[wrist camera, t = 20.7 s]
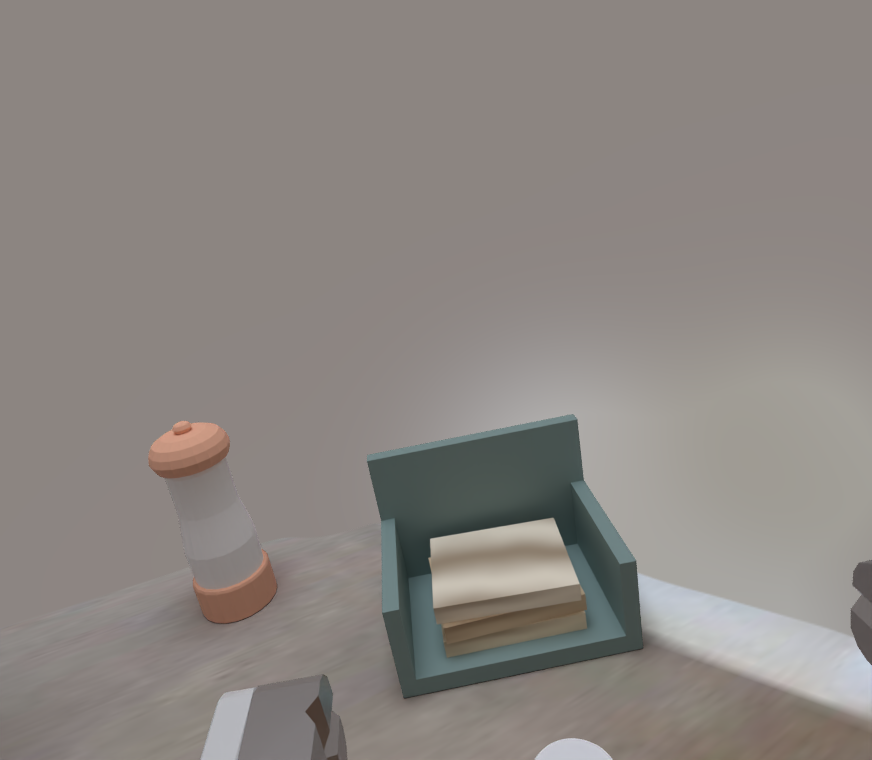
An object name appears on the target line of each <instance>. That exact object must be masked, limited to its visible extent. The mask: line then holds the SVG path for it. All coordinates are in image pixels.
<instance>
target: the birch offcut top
mask: <svg viewBox="0 0 872 760" xmlns="http://www.w3.org/2000/svg"><path fill="white" fill-rule="evenodd" d="M430 548H431V569H432V590H433V609H434V614H435V618H436V623H437V624H443V623H449V622H455V621H461V620H467V619H473V618H479V617H485V616H490V615H496V614H502V613H508V612H514V611H520V610H526V609H532V608H538V607H544V606H550V605H556V604H562V603H568V602H574V601H580V600H581V591H580V583H579V581H578V578H577V576H576V573H575V571H574V568H573V566H572V563H571V561H570V558H569V556H568V553H567V550H566V548H565V545H564V543H563V540H562V538H561V535H560V533H559V530H558V528H557V525H556V522H555V520H554V518H548V519H542V520H536V521H531V522H525V523H519V524H513V525H507V526H501V527H496V528H490V529H484V530H478V531H472V532H467V533H461V534H455V535H449V536H443V537H437V538H432V539H430Z"/></svg>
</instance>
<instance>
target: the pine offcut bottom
mask: <svg viewBox="0 0 872 760" xmlns="http://www.w3.org/2000/svg"><path fill="white" fill-rule="evenodd" d="M441 627H442V634H443V642H444V647H445V651H446V656H447V658H448V657H453V656H457V655H462V654H467V653H472V652H477V651H481V650H486V649H491V648H496V647H501V646H505V645H510V644H515V643H520V642H525V641H530V640H534V639H539V638H544V637H549V636H554V635H558V634H563V633H568V632H573V631H578V630H583V629H587V623H586V614H585V611H580V612H576V613H572V614H568V615H564V616H560V617H556V618H552V619H548V620H544V621H540V622H536V623H532V624H527V625H523V626H519V627H515V628H511V629H507V630H503V631H499V632H495V633H491V634H487V635H483V636H479V637H475V638H471V639H467V640H463V641H459V642H455V643H451V644H447V642H446V637H445V632H444V628H443V624H441Z"/></svg>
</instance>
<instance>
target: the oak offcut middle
mask: <svg viewBox="0 0 872 760" xmlns="http://www.w3.org/2000/svg"><path fill="white" fill-rule="evenodd" d="M428 559H429V563H430V568H431V557H430V558H428ZM431 573H432V569H431ZM580 591H581V600H580V601H574V602H568V603H562V604H556V605H550V606H544V607H538V608H532V609H526V610H520V611H514V612H508V613H502V614H496V615H490V616H485V617H479V618H473V619H467V620H461V621H455V622H449V623H443V628H444V632H445V637H446V642H447V644H451V643H455V642H459V641H463V640H467V639H471V638H475V637H479V636H483V635H487V634H491V633H495V632H499V631H503V630H507V629H511V628H515V627H519V626H523V625H527V624H532V623H536V622H540V621H544V620H548V619H552V618H556V617H560V616H564V615H568V614H572V613H576V612H580V611H584V610H587V605H586V596H585V593H584V591H583V589H582V587H581V586H580Z"/></svg>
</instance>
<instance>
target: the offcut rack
mask: <svg viewBox="0 0 872 760" xmlns="http://www.w3.org/2000/svg"><path fill="white" fill-rule="evenodd" d="M367 463H368V467H369V471H370V475H371V480H372V484H373V488H374V492H375V496H376V500H377V505H378V509H379V513H380V517H381V535H382V614H383V618H384V622H385V626H386V630H387V634H388V638H389V642H390V645H391V649H392V653H393V657H394V661H395V665H396V669H397V673H398V677H399V681H400V685H401V689H402V693H403V697H404V698H407V697H412V696H417V695H422V694H426V693H431V692H436V691H441V690H446V689H450V688H455V687H460V686H465V685H470V684H474V683H479V682H484V681H489V680H493V679H498V678H503V677H508V676H513V675H517V674H522V673H527V672H532V671H537V670H541V669H546V668H551V667H556V666H561V665H565V664H570V663H575V662H580V661H584V660H589V659H594V658H599V657H604V656H608V655H613V654H618V653H623V652H628V651H632V650H637V649H642V648H643V642H642V629H641V616H640V603H639V590H638V578H637V565H636V560H635V558H634V557H633V555H632V554H631V552H630V551H629V549H628V547H627V546H626V544H625V543H624V541H623V540H622V538H621V537H620V535H619V534H618V532H617V530H616V529H615V527H614V526H613V524H612V523H611V521H610V520H609V518H608V517H607V515H606V514H605V512H604V511H603V509H602V507H601V506H600V504H599V503H598V501H597V500H596V498H595V497H594V495H593V494H592V492H591V491H590V489H589V487H588V486H587V485H586V483H585V481H584V478H583V470H582V460H581V451H580V441H579V431H578V422H577V418H576V417H575V416H574V415H573V414H572V415H566V416H561V417H557V418H552V419H546V420H541V421H536V422H531V423H527V424H522V425H517V426H511V427H507V428H502V429H496V430H491V431H486V432H481V433H476V434H471V435H466V436H461V437H456V438H451V439H446V440H441V441H436V442H431V443H426V444H421V445H415V446H410V447H406V448H401V449H396V450H390V451H386V452H380V453H375V454H370V455H368V456H367ZM548 518H554V520H555V522H556V525H557V528H558V530H559V533H560V535H561V538H562V540H563V543H564V545H565V548H566V550H567V553H568V556H569V558H570V561H571V563H572V566H573V568H574V571H575V573H576V576H577V578H578V581H579V583H580V586H581V587H582V589H583V591H584V593H585V596H586V605H587V610H584V611H585V614H586V623H587V629H583V630H578V631H573V632H568V633H563V634H558V635H554V636H549V637H544V638H539V639H534V640H530V641H525V642H520V643H515V644H510V645H505V646H501V647H496V648H491V649H486V650H481V651H477V652H472V653H467V654H462V655H457V656H453V657H448V658H447V656H446V651H445V647H444V642H443V634H442V627H441V624H437V623H436V618H435V614H434V609H433V590H432V573H431V568H430V563H429V559H428V558H430V557H431V548H430V539H432V538H437V537H443V536H449V535H455V534H461V533H467V532H472V531H478V530H484V529H490V528H496V527H501V526H507V525H513V524H519V523H525V522H531V521H536V520H542V519H548Z"/></svg>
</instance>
